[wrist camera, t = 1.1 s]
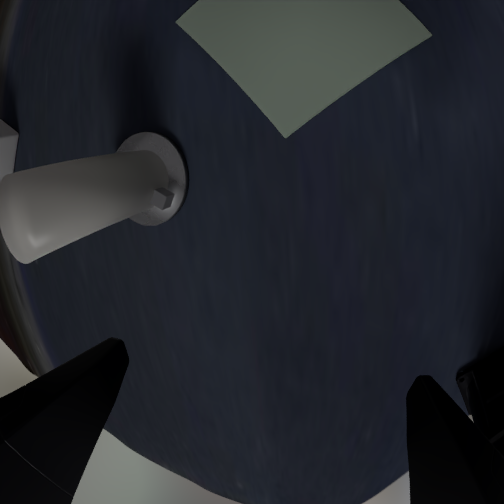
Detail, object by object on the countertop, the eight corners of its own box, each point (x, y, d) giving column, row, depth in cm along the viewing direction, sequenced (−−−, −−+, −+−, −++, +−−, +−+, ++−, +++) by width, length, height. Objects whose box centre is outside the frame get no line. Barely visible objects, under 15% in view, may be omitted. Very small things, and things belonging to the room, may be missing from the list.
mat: (431, 36, 12) (432, 35, 11) (285, 138, 17) (285, 138, 17) (301, -69, 10) (300, -71, 10) (177, 23, 16) (175, 22, 16)
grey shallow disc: (203, 153, 19) (199, 153, 18) (171, 239, 22) (167, 242, 21) (129, 120, 20) (124, 120, 19) (108, 199, 23) (103, 201, 22)
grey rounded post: (188, 169, 19) (50, 207, 9) (168, 225, 21) (47, 292, 11) (122, 137, 20) (-8, 156, 10) (108, 188, 22) (-9, 228, 12)
